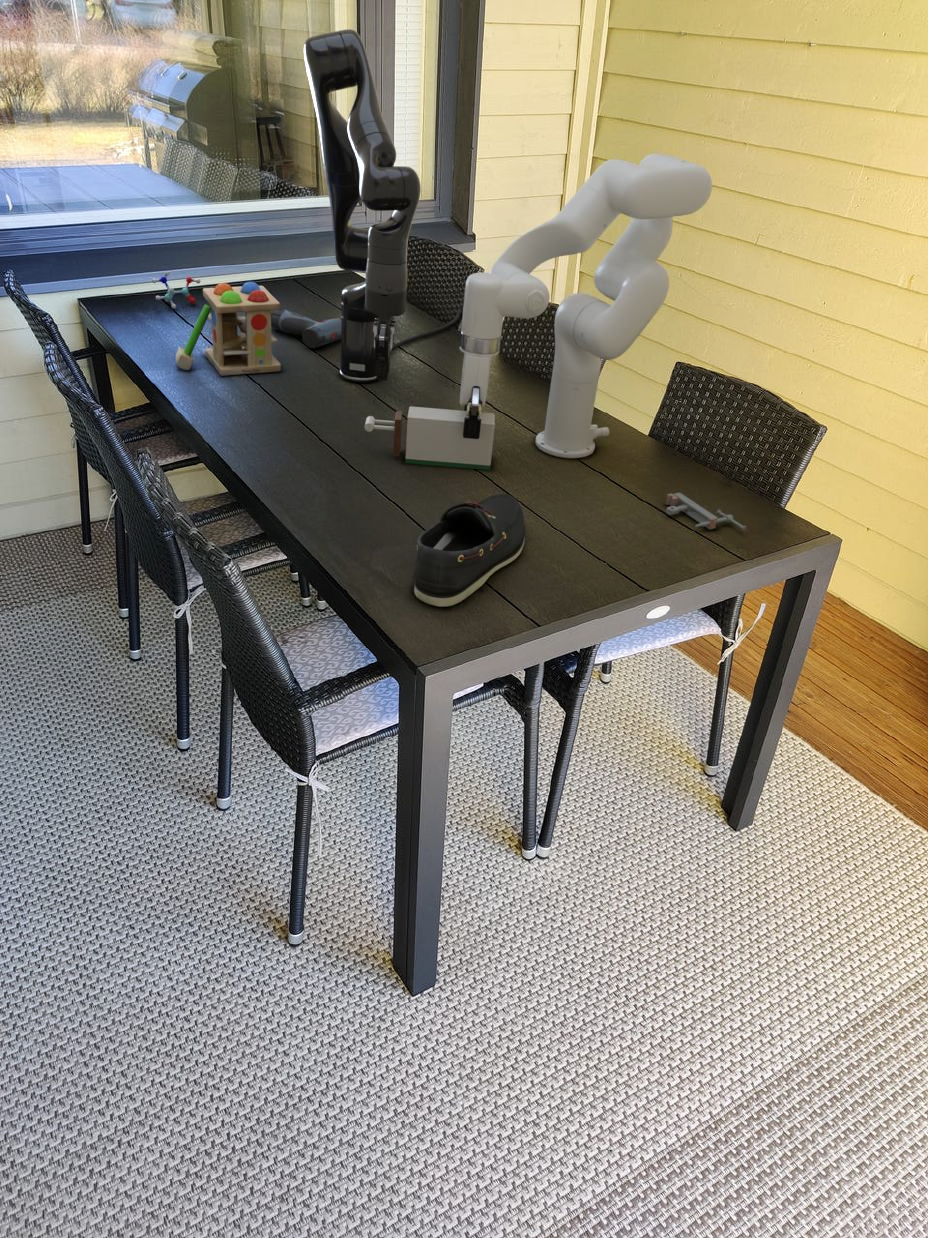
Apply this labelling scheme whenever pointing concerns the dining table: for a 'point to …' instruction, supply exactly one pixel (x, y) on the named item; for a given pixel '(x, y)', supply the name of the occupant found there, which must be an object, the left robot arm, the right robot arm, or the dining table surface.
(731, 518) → the clamp
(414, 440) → the cabinet
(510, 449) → the dining table surface
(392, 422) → the drawer
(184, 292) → the molecular model
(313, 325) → the power drill
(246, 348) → the pounding bench toy
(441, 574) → the boat shoe
